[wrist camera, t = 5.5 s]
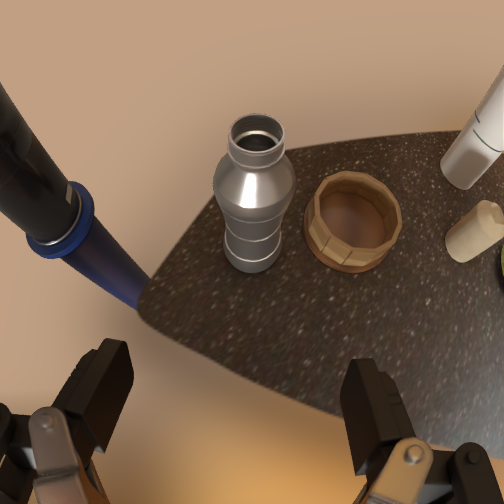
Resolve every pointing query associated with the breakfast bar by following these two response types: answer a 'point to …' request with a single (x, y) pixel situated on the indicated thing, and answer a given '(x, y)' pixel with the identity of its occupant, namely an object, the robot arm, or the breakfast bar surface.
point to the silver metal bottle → (254, 191)
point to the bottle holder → (351, 222)
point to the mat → (502, 259)
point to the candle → (475, 231)
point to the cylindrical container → (477, 140)
